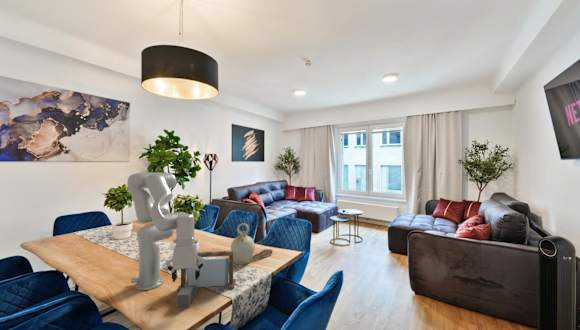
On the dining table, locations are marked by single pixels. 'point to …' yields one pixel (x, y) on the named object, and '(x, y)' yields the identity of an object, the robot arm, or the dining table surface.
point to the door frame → (212, 254)
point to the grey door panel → (210, 273)
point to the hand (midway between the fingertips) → (186, 279)
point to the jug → (242, 247)
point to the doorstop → (186, 296)
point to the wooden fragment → (262, 255)
